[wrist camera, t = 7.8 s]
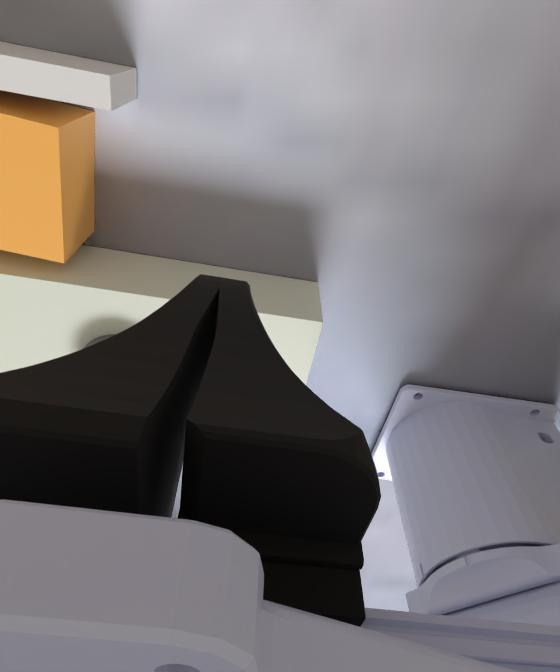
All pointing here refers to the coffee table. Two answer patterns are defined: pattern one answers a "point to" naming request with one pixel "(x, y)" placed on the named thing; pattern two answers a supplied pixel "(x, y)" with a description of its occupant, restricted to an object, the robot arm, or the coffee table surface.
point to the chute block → (45, 176)
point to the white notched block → (117, 252)
